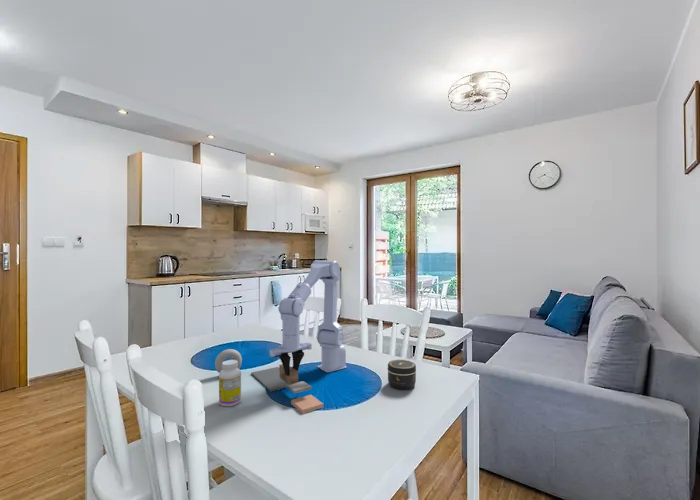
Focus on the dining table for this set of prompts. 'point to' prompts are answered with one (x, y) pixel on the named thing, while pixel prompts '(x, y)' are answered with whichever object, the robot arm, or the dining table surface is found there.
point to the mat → (270, 379)
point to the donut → (224, 355)
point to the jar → (401, 374)
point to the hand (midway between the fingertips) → (291, 373)
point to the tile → (306, 404)
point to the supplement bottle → (230, 383)
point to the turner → (293, 380)
